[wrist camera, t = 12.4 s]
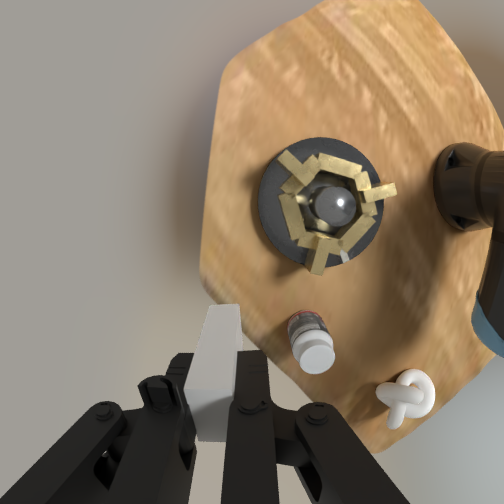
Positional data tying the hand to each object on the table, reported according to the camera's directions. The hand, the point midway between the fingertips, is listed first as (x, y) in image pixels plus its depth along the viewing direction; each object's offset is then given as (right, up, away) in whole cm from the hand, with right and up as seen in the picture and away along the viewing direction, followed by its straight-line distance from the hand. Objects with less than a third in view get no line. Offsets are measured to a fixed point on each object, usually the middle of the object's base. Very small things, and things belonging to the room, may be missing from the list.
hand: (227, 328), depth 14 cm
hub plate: (+11, +11, +25) cm, 29 cm away
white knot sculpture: (+31, -22, +33) cm, 50 cm away
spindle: (+11, +11, +25) cm, 29 cm away
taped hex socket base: (+11, +9, +23) cm, 27 cm away
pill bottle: (+10, -8, +29) cm, 32 cm away
